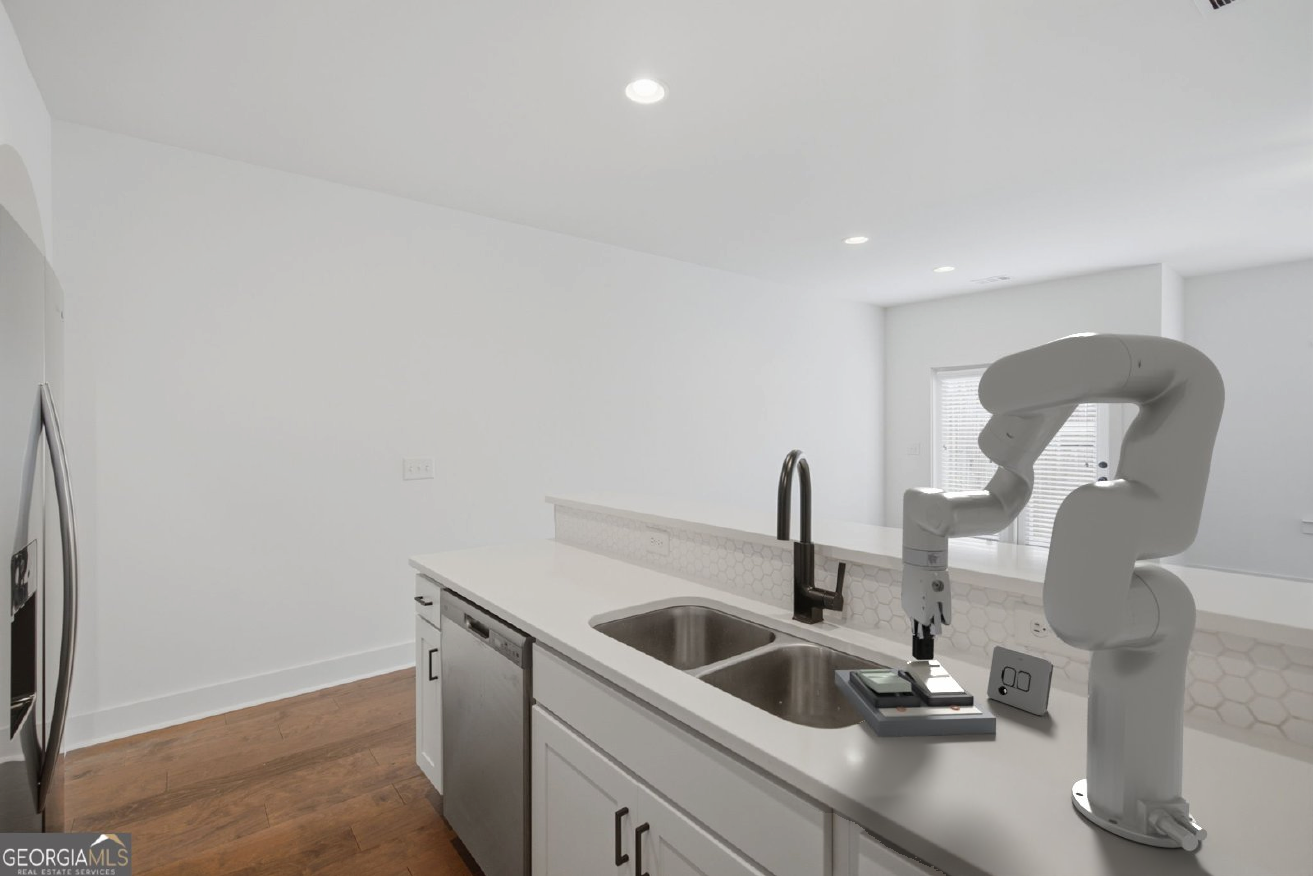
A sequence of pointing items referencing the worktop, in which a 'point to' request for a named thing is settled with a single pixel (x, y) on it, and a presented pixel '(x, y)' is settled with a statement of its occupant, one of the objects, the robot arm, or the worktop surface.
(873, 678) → the rocker sage
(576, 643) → the worktop surface
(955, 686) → the rocker ivory
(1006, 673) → the electrical switch
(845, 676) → the switch panel
